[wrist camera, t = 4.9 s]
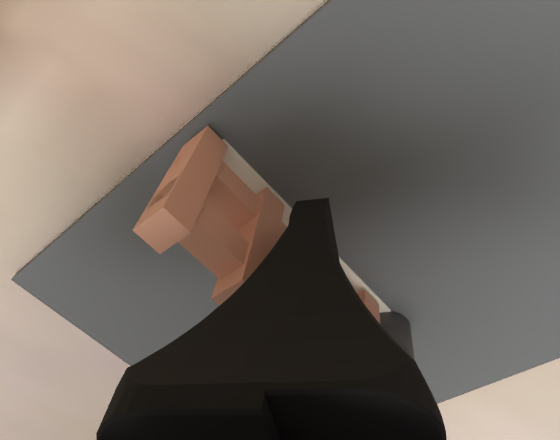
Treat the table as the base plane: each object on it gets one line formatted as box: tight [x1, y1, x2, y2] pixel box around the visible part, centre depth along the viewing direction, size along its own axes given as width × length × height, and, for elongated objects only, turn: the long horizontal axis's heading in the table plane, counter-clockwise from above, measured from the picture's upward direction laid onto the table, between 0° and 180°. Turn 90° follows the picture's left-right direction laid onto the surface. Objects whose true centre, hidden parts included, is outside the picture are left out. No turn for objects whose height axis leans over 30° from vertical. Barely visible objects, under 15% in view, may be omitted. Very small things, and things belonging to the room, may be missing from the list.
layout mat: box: [11, 0, 560, 404], centre depth 17 cm, size 19×14×1 cm
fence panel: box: [133, 126, 380, 324], centre depth 14 cm, size 8×1×4 cm, turn 41°
